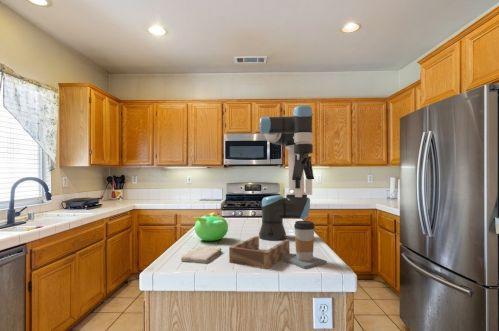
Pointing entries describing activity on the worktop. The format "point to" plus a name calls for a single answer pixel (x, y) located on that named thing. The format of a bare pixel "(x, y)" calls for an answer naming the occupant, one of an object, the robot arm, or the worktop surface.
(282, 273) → the worktop surface
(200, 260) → the washcloth
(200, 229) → the toy bird
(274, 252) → the u-shaped wooden frame
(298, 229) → the coffee cup
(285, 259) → the coaster
